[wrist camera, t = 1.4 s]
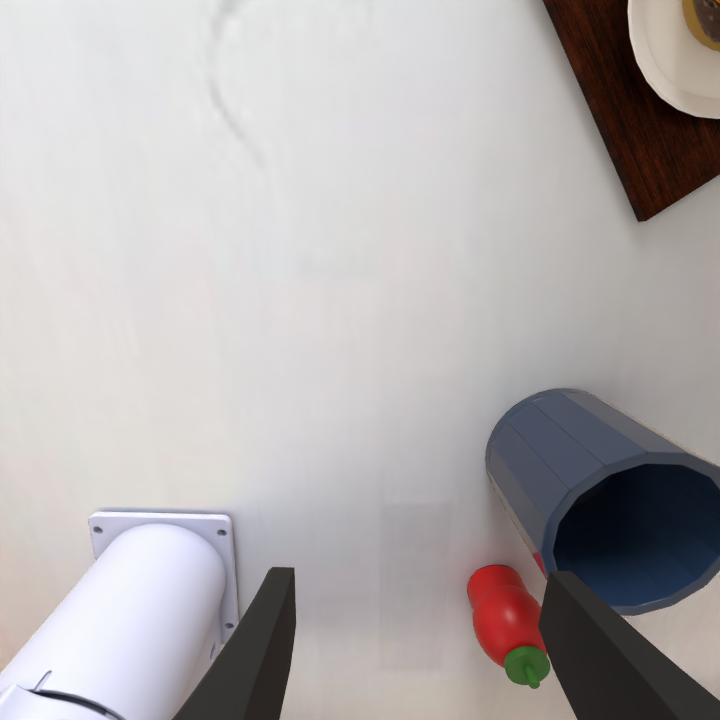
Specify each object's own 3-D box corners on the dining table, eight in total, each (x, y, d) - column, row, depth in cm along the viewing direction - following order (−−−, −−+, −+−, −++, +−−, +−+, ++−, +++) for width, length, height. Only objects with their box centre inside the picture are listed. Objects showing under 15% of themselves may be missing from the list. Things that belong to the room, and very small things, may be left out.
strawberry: (520, 611, 23) (567, 714, 18) (458, 609, 23) (488, 713, 18) (530, 561, 22) (584, 655, 17) (466, 559, 22) (500, 654, 17)
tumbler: (605, 511, 21) (708, 618, 15) (477, 508, 21) (527, 613, 15) (637, 390, 19) (772, 455, 13) (495, 386, 19) (562, 449, 13)
